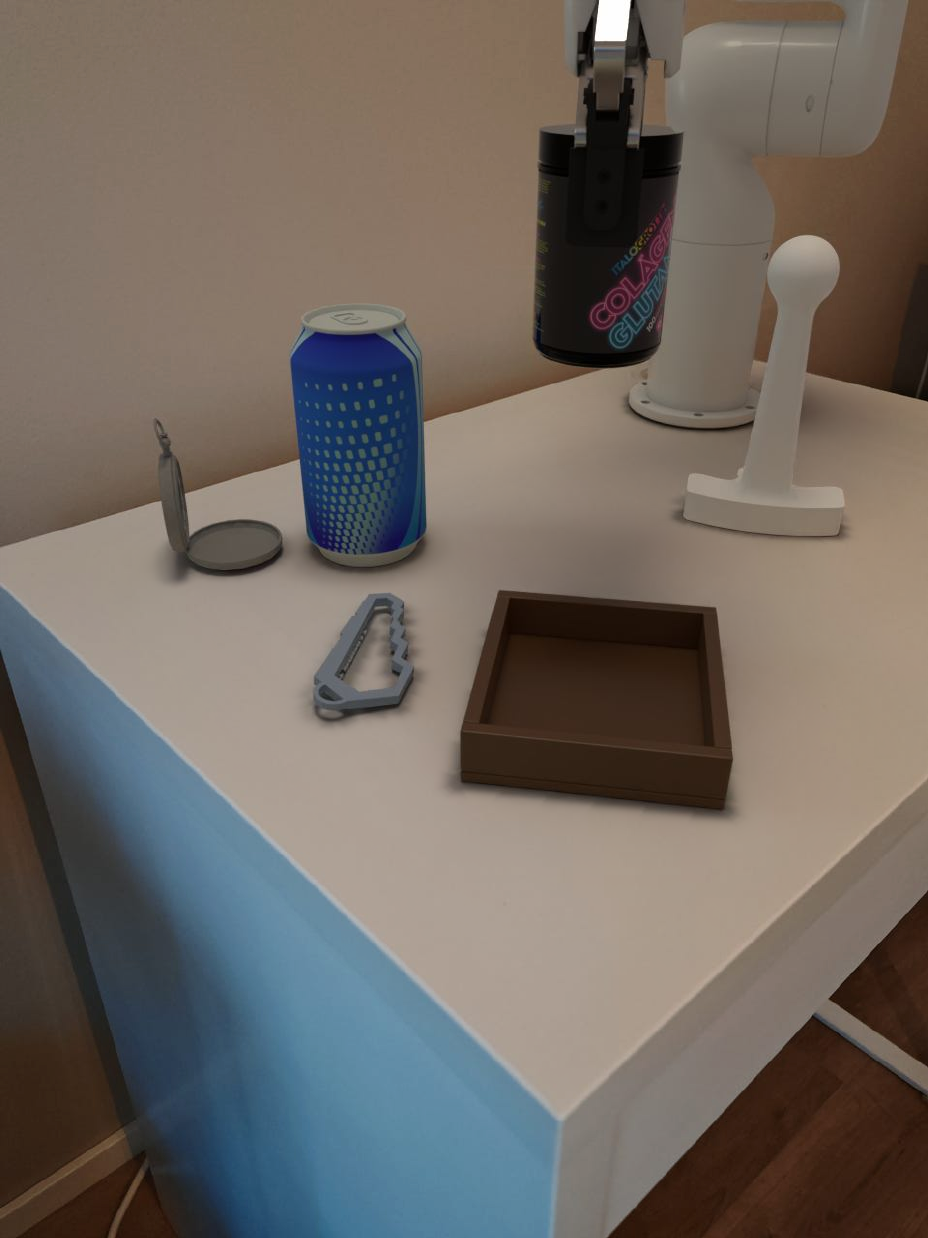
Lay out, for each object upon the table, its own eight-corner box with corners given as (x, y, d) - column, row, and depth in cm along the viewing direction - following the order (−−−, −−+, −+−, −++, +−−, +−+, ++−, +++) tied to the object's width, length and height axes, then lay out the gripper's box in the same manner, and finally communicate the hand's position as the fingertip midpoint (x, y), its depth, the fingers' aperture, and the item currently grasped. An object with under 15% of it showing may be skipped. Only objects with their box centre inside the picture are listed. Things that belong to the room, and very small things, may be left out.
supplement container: (562, 377, 47) (575, 137, 41) (511, 341, 52) (516, 124, 47) (685, 364, 48) (713, 133, 43) (623, 330, 54) (641, 121, 49)
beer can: (433, 520, 72) (429, 300, 63) (418, 575, 65) (410, 335, 56) (323, 516, 73) (303, 298, 64) (295, 569, 65) (269, 332, 57)
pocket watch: (302, 551, 68) (288, 414, 63) (200, 595, 63) (176, 450, 57) (233, 516, 73) (215, 386, 67) (133, 555, 67) (105, 417, 62)
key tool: (440, 614, 61) (364, 600, 61) (441, 602, 60) (364, 587, 61) (391, 730, 51) (301, 712, 52) (392, 716, 50) (301, 698, 51)
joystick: (681, 524, 71) (718, 237, 61) (688, 484, 77) (722, 217, 67) (839, 541, 69) (906, 246, 58) (834, 498, 75) (893, 224, 64)
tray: (497, 633, 59) (498, 589, 57) (709, 651, 57) (716, 606, 55) (460, 781, 47) (459, 731, 46) (724, 810, 45) (733, 759, 44)
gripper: (755, -327, 30) (686, 271, 39) (724, -210, 45) (679, 205, 54) (516, -314, 31) (504, 264, 40) (562, -204, 46) (545, 202, 55)
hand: (604, 227), depth 47 cm, fingers closed on supplement container, 6 cm apart
